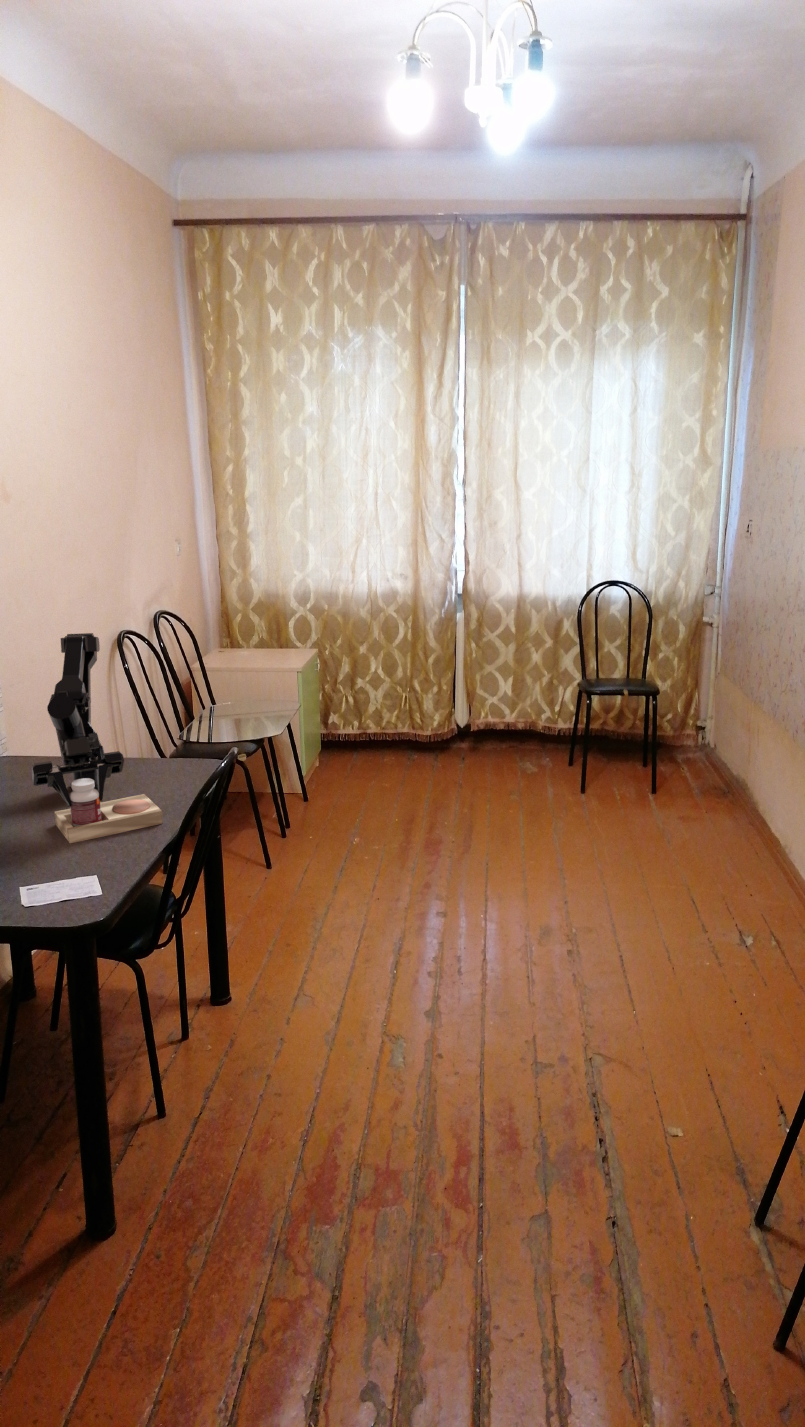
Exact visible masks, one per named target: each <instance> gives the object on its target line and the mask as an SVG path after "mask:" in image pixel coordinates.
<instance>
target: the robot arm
mask: <svg viewBox="0 0 805 1427" xmlns="http://www.w3.org/2000/svg"><path fill="white" fill-rule="evenodd" d="M100 646H101V645H100V638H99V637H98V636H95V635H94V633H93V632H86V633H85V632H84V633H67V635H66V636H64V637H61V638H60V649H61V650H60V652H61V653H62V654H64V657H63V658H64V659H63V666H62V676H61V679H60V680H58V682H57V683H56V684H55V685H54V691H53V693H52V694H51V696H50V699H49V702H48V705H47V707H46V708H47V709H46V710H47V713H48V716H49V718H50V720H51V722H52V724H53V727H54V728H55V732H56V736H57V742H58V747H59V751H60V756H61V761H62V765H58V764H56V765H53V762H52V761H51V760H49V761H42V762H35V763H34V764H32V767H31V780H32V785H33V786H35V787H38V786H42V785H43V786H44V785H46V786H47V788H51V787H52V788H53V789H54V791H56V792H57V793H58V794H59V795H60V797H61V798H62V799H63V801H65V803H66V805H67V806H68V807H69V808H70V807H71V801H70V796H69V795H70V793H69V790H68V788H67V785H66V783H65V778H64V775H68V774H72V778H73V780H72V781H74V780H77V779H82V778H90V779H93V780H94V783H95V787H94V789H96V790H97V791H98V792H99V797H100V803H101V802H103V798H104V790H105V783H106V779H108V778H111V775H112V774H113V775H114V774H119V773H121V772H123V768H124V763H125V758H124V755H123V753H122V752H121V751H119V750H115V751H110V752H105V750H104V746H103V745H102V742H101V741H100V740H99V734H98V732H96V730H95V729H94V728H93V726H92V713H91V712H92V705H91V703H92V698H91V694H92V692H91V690H92V689H91V687H92V686H91V682H92V681H91V669H92V668H93V667H94V666H95V664H96V662H97V660H98V653H99V652H100V650H101V649H100ZM69 787H71V789H72V786H71V783H70V784H69Z"/></svg>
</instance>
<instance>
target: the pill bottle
mask: <svg viewBox="0 0 805 1427" xmlns="http://www.w3.org/2000/svg"><path fill="white" fill-rule="evenodd" d="M70 784H71V786H72V788H71V789H72V791H71V792H70V793H69V796H70V801H71V807H69V809H70V811H71V821H72V827H76V826H80V825H85V824H90V823H95V822H100V821H102V818H101V808H100V803H101V802H100V797H99V792H98V789H97V790H96V789H94V787H95V783H94V780H93V779H90V778H82V779H77V780H72V781H71V783H70ZM71 786H70V787H71Z"/></svg>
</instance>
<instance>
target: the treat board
mask: <svg viewBox="0 0 805 1427" xmlns="http://www.w3.org/2000/svg"><path fill="white" fill-rule="evenodd" d="M100 808H101V818H102V821H100V822H95V823H90V824H85V825H80V826H76V827H72V821H71V811H70V808H67V809H61V810H56V811H53V812H54V819H55V820H54V821H55V825H56V827H57V828H58V830H59V831H60V832H61V833H62V835H63V836H64V837H65V839H66V840H67V842H68V843H69V844H74V843H79V842H83V841H87V840H91V839H92V840H93V839H97V838H102V837H106V836H111V835H115V834H120V833H125V832H129V831H133V830H138V829H143V828H148V827H152V826H157V825H158V826H159V825H162V824H163V823H164V822H163V810H162V809H160V807H159V806H158V805H157V804H155V803H154V802H153V800H151V799H150V798H149V797H148V796H147V795H146V794H145V793H141V794H137V795H132V796H127V797H122V798H118V799H112V800H107V801H101V802H100Z"/></svg>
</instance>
